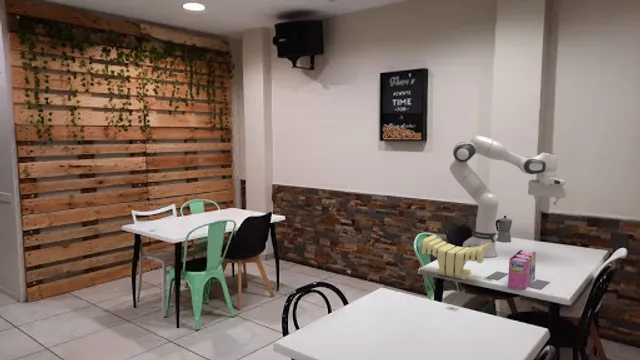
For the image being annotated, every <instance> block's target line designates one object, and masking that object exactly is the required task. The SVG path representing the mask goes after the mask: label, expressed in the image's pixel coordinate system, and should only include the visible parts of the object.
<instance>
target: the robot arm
mask: <svg viewBox="0 0 640 360" xmlns="http://www.w3.org/2000/svg"><path fill="white" fill-rule="evenodd" d="M475 154H478V155H481V156H482V157H485V158H488V159H491V160H496V161H504V162H507V163H509V164H511V165H514V166H516V167H517V168H519V169H520V171H521V172H523V173H524V174H528V175H536V174H538V175H539V176H538V179H533V178H532V179H530V180H528V189H527V194H528V195H529V196H533V197H534V200H535V204H540V200H539V199H538V197H549V198H555V201H553V206H557V205H558V201H559V200H560V198H562V199H565V198H566V197H567V196H568V195H567V194H568V190H567V186H566V185H565V184H566V181H565V180H564V179H561V178H558V177H557V169H558V159H557V155H556V154H555V153H551V152H547V151H543V152H541V153H540V154H538V155H536V156H521V155H519V154H516V153H515V152H512V151H509V150H508V149H507V148H506V147H505V145H503V144H502V143H501V142H499V141H497V140H495V139H493V138H490V137H486V136H483V135H475V136H473V137H472V138H471V139H470V141H469V142H468V143H467V142H463V141H462V142H458V143H457V144H455V146H454V147H453V151H452V155H453V158H454V160H453V162H452V163H451V164H450V166H449V171H450V173H451V175H452V177H454V179H455V180H456V181H457V182H458V184H459V185H460V186H461V187H462V188H463V190H465V191H466V193H467V194H468V195H469V196H470V197H471V198H472V199H473V200H474V201H475V203H476V204H477V207H478V208H477V213H476V220H475V221H476V223H475V230H474V231H472V232H471V235H472V236H471V237H469V238H467V239H466V240H464V241H463V243H462V247H464V248H466V247H473V248H474V247H477V246H481V245H486V244H487V243H490V248H489V249H488V250H487V251H486V253H485V255H484V258H494V257H497V256H498V254H497V249H496V248H497V247H496V241H497V232H496V220H497V214H498V208H499V197H498V196H497V195H496V194H495V193H493V191H491V190H490V188H488V187H487V185H486V184H485V182H484V181H483V180H482V179H481V178H480V177H479V175H478V174H476V172H475V171H474V170H473V169H472V168H471V167H470V165H469V164H468V161H470V160H471V159H472V158H473V156H475Z"/></svg>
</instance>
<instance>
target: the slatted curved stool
mask: <svg viewBox="0 0 640 360" xmlns="http://www.w3.org/2000/svg"><path fill="white" fill-rule="evenodd" d="M489 248H490V243H487V244H486V245H481V246H477V247H474V248H473V247H466V248H464V247H463V246H458V245H457V246H456V245H454V244H451V243H448V242H446V241H444V240H443V239H441V238H439V237H438V236H436V235H435V234H432V235H430V236H427V237H425V238H424V239H423V240H422V244H421V254H423V255H424V254H427V255H432V256H434V258H437V259H436V260H437V263H438V267H439V269H438V275H440V276H446V277H449V278H450V277H451V278H455V279H460V280H465V279H467V278H468V277H469V276H471V275H472V274H473V272H472V270H471V269H469V268H464V267H465V265H466V263H467V262H469V261H471V262H476V263H478V264H482V263H484V258H485V257H484V255H485V253H486V251H487V250H488V249H489Z"/></svg>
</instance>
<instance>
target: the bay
mask: <svg viewBox="0 0 640 360" xmlns="http://www.w3.org/2000/svg"><path fill="white" fill-rule="evenodd" d="M507 275H509V272H508V273H507V272H502V271H498V270H496V271H495V272H493V273H491V274H489V275H487V276H486V277H485V278H486V279H490V280H493V279H494V280H495V281H500V280H501V279H503V278H504V277H506V276H507ZM550 283H551V282H550V281H548V280H541V279H536V280H533V281H532V282H531V283H530V284H529V285H528V286H527V288H532V289H536V290H542V289H544V288H545V287H546V286H547V285H549V284H550Z"/></svg>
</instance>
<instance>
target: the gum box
mask: <svg viewBox="0 0 640 360" xmlns="http://www.w3.org/2000/svg"><path fill="white" fill-rule="evenodd" d="M536 255H537V254H536V251H533V252H530V251H524V250H522V249H521V250H518V251H517V252H516V253H515V254H514V255H513V256H512V257H510V258H509V260H508V261H509V262H508V278H507V279H508V280H507V287H509V288H513V289H518V290H523V291H526V289H527V288H528V287H527V286H529V285H530V284H531V283H533V282H534V281H535V279H536Z"/></svg>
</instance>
